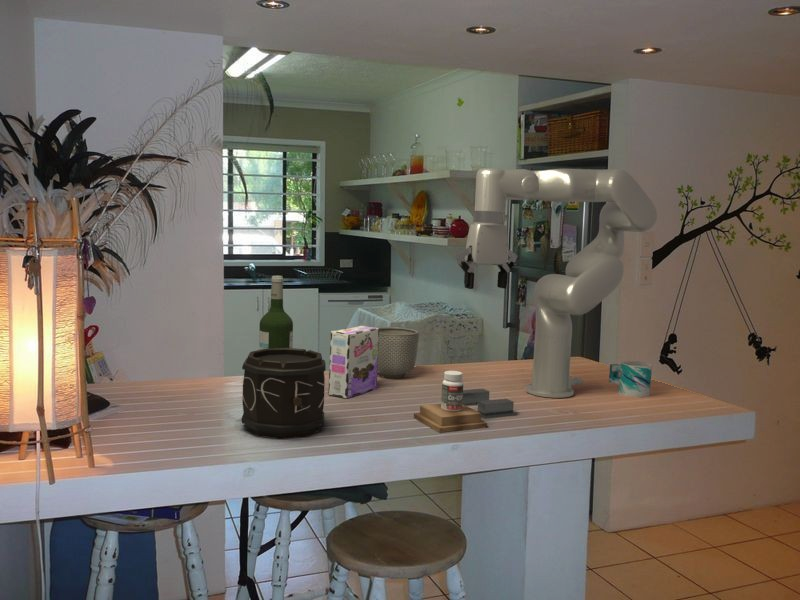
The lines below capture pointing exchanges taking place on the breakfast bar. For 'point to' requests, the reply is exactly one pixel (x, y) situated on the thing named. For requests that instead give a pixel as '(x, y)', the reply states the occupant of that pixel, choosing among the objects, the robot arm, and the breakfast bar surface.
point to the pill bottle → (452, 391)
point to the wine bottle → (276, 321)
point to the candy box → (353, 361)
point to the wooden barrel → (283, 392)
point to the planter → (396, 351)
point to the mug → (632, 378)
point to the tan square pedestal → (449, 418)
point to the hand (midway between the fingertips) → (485, 288)
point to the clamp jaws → (488, 404)
